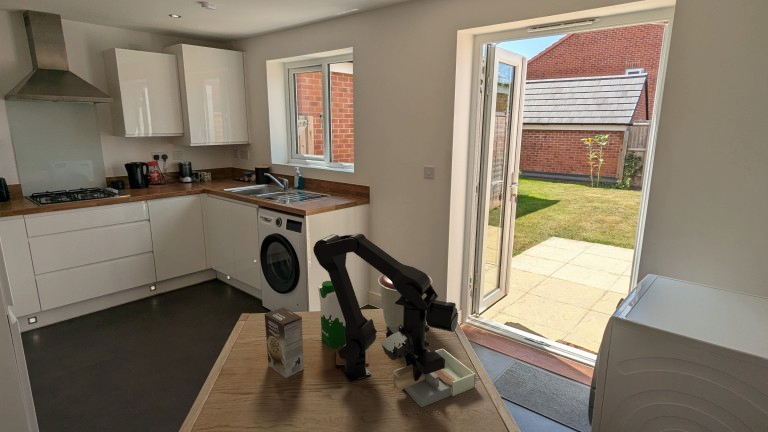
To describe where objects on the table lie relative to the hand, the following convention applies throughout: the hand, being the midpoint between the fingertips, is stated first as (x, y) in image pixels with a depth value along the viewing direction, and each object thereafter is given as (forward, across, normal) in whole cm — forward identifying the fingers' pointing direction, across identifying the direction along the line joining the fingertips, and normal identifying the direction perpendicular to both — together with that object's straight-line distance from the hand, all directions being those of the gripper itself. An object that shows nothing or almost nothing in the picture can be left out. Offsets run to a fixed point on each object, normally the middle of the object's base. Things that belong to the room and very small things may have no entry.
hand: (413, 377), depth 106 cm
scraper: (+1, 0, -1) cm, 1 cm away
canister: (+4, -30, +16) cm, 34 cm away
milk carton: (+4, -32, -8) cm, 33 cm away
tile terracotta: (+2, +3, +8) cm, 9 cm away
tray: (+4, 0, +11) cm, 12 cm away
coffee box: (+4, -26, -26) cm, 37 cm away
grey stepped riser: (+4, 0, +3) cm, 4 cm away
